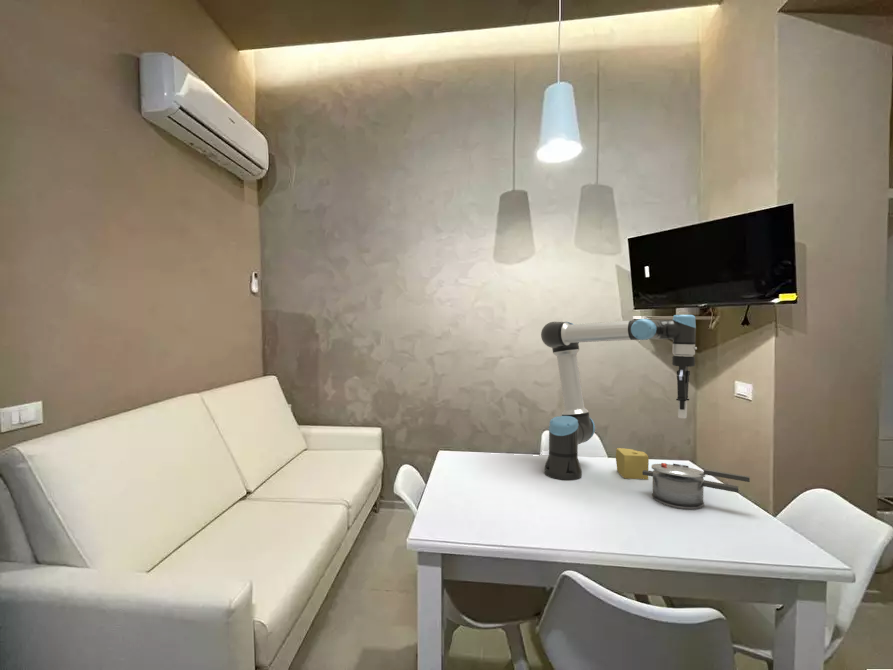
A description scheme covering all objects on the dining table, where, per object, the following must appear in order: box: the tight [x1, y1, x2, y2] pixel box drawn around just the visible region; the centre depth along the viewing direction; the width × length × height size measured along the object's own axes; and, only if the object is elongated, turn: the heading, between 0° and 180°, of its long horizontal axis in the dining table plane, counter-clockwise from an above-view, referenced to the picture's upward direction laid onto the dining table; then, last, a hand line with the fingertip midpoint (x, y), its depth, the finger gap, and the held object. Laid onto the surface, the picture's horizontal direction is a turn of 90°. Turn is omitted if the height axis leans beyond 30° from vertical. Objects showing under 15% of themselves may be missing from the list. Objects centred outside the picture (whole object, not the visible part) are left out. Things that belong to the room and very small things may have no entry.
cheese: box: [615, 447, 650, 480], centre depth 181 cm, size 10×11×10 cm
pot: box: [643, 469, 739, 511], centre depth 154 cm, size 29×18×9 cm, turn 56°
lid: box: [651, 462, 751, 483], centre depth 152 cm, size 30×18×2 cm, turn 56°
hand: (682, 417), depth 164 cm, fingers closed
